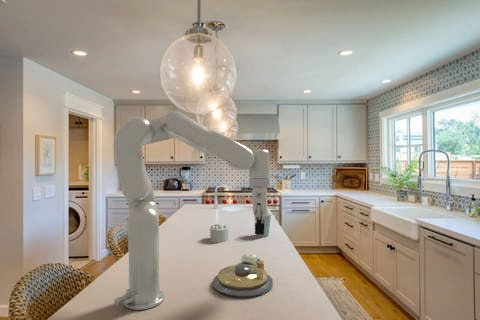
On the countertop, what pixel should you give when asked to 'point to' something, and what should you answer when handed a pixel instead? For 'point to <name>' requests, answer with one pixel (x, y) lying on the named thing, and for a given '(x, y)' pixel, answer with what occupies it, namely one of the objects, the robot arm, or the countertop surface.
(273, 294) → the countertop surface
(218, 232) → the lumpy-topped squat cylinder
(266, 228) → the disposable coffee cup
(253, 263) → the pipe fitting
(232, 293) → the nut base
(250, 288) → the lugged brass disc
